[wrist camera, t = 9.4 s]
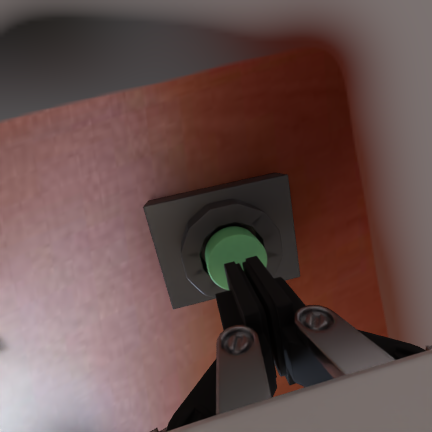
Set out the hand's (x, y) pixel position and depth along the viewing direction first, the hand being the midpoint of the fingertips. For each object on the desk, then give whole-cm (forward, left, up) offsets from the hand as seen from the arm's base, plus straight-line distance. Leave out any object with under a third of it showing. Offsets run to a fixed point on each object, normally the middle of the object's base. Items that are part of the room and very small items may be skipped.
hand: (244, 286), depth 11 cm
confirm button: (0, 0, -4) cm, 4 cm away
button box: (0, 0, -8) cm, 8 cm away
